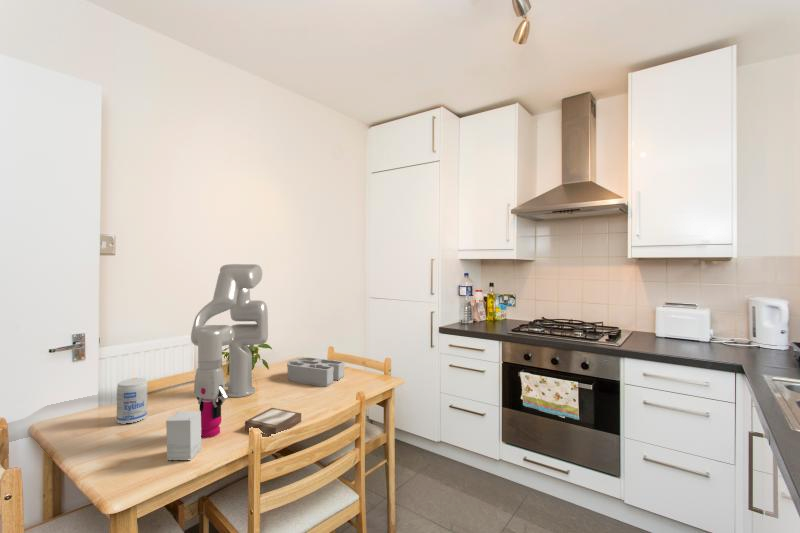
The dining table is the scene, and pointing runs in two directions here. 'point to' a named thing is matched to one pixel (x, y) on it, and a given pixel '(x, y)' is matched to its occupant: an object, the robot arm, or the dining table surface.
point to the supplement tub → (131, 400)
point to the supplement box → (183, 435)
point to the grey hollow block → (315, 371)
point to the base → (274, 421)
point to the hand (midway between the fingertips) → (210, 415)
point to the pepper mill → (209, 419)
